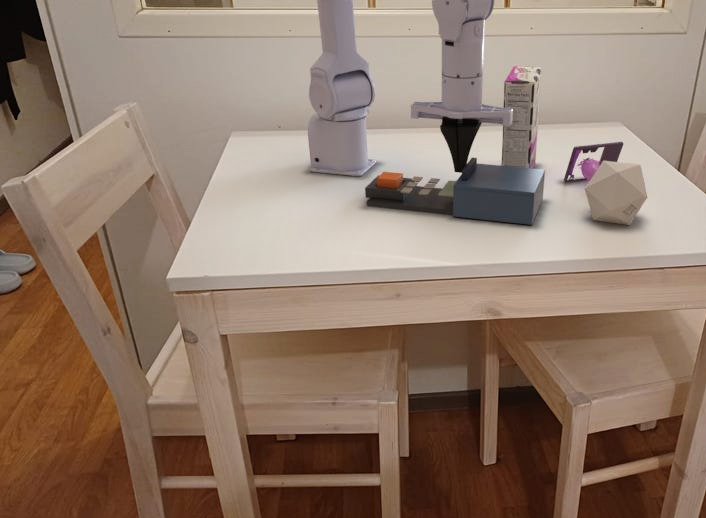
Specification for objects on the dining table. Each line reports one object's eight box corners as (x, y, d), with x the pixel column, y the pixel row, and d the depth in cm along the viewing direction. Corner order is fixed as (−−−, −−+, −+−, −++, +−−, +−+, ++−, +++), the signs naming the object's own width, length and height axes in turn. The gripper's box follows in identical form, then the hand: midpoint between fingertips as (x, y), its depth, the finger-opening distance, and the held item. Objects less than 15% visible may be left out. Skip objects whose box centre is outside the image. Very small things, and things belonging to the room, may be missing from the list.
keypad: (400, 192, 107) (400, 191, 107) (414, 177, 113) (414, 176, 113) (453, 197, 106) (453, 196, 105) (464, 182, 111) (464, 181, 111)
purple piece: (620, 138, 117) (571, 143, 114) (635, 158, 114) (585, 163, 112) (608, 172, 122) (561, 178, 120) (622, 192, 119) (574, 198, 117)
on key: (377, 187, 110) (376, 178, 109) (383, 181, 113) (383, 171, 112) (397, 189, 109) (396, 180, 108) (403, 183, 112) (403, 173, 111)
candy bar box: (507, 163, 127) (512, 65, 118) (535, 165, 127) (543, 66, 118) (498, 184, 118) (503, 79, 109) (528, 186, 117) (536, 81, 108)
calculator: (362, 206, 109) (361, 190, 108) (381, 187, 116) (380, 172, 115) (462, 217, 106) (463, 200, 105) (475, 197, 113) (476, 181, 112)
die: (613, 240, 101) (663, 183, 97) (565, 199, 102) (613, 141, 98) (618, 239, 109) (665, 186, 105) (574, 201, 110) (619, 147, 106)
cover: (453, 216, 105) (453, 174, 102) (469, 192, 114) (470, 153, 110) (532, 225, 103) (535, 182, 99) (542, 199, 111) (546, 159, 108)
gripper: (403, 76, 98) (405, 174, 105) (508, 83, 95) (503, 183, 102) (418, 66, 103) (419, 160, 111) (517, 72, 100) (512, 168, 108)
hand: (460, 170), depth 107 cm, fingers closed
